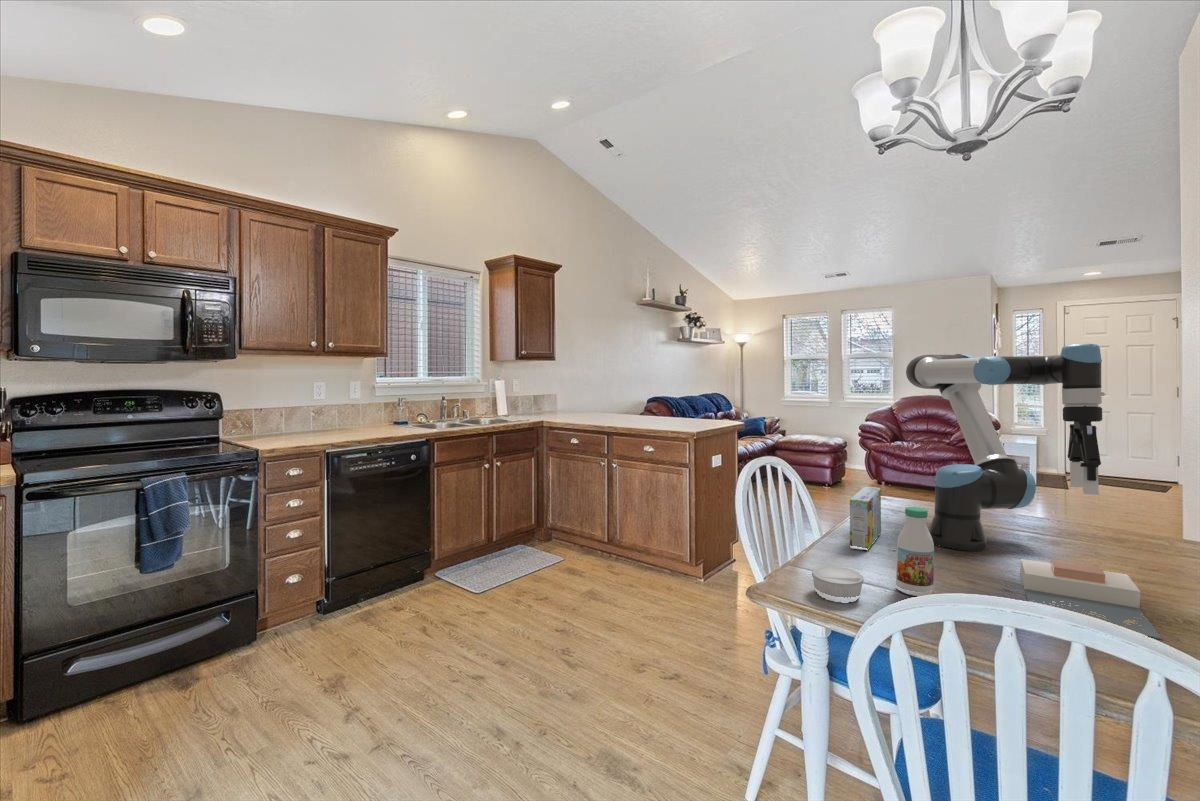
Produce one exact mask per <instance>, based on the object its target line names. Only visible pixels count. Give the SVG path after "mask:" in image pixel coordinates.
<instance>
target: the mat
mask: <svg viewBox="0 0 1200 801" xmlns="http://www.w3.org/2000/svg"><path fill="white" fill-rule="evenodd" d="M1025 592H1026V593H1025ZM1024 593H1025V597H1026V596H1027V597H1026V600H1027V602H1028V601H1033V600H1034V601H1033V602H1037V603H1042V604H1047V605H1052V604H1055V605H1052V606H1055V607H1059V608H1063V609H1067V610H1070V611H1074V612H1078V613H1082V614H1086V615H1089V616H1093V617H1096V618H1100V619H1102V620H1105V621H1107V622H1111V623H1113V624H1117V625H1119V626H1123V627H1126V628H1128V629H1131V630H1134V631H1136V632H1140V633H1142V634H1145V635H1147V636H1151V637H1153V638H1152V639H1155V640H1156V639H1157V640H1162V637H1161V635H1160V634H1159V633H1158V631H1157V630H1156V629H1155V627H1154V626H1153V624H1152V623H1151V621H1150V620H1149V619H1148V618H1147V617H1146V618H1147V620H1146V618H1144V617H1145V616H1146V615H1145V613H1144V612H1143V610H1142V609H1141V608H1136V607H1130V606H1124V605H1118V604H1112V603H1106V602H1100V601H1094V600H1088V599H1083V598H1077V597H1071V596H1065V595H1059V594H1053V593H1047V592H1041V591H1035V590H1029V589H1024ZM1043 601H1044V602H1045V603H1043ZM1052 601H1055V602H1056V603H1052ZM1060 601H1064V602H1060ZM1049 603H1051V604H1049ZM1069 603H1071V607H1070V606H1068V605H1070V604H1069ZM1061 604H1063V605H1061ZM1064 604H1065V605H1064ZM1057 605H1059V606H1057ZM1075 605H1079V606H1075ZM1062 606H1063V607H1062ZM1074 609H1075V610H1074ZM1083 609H1084V610H1083ZM1082 611H1083V612H1082ZM1090 611H1092V612H1096V613H1097V614H1095V613H1092V614H1095V615H1091V614H1088V613H1091V612H1090ZM1085 612H1086V613H1085ZM1098 614H1101V615H1098ZM1141 614H1142V615H1141ZM1143 614H1144V615H1145V616H1144V615H1143ZM1096 615H1098V616H1101V617H1097V616H1096ZM1102 615H1104V616H1106V617H1104V616H1102ZM1143 616H1144V617H1143ZM1102 617H1104V618H1106V619H1107V620H1106V619H1104V618H1102ZM1134 617H1135V618H1134ZM1137 618H1138V619H1137ZM1140 618H1141V619H1140ZM1128 619H1129V620H1135V621H1136V622H1134V623H1135V624H1133V623H1129V624H1131V625H1127V624H1126V623H1123V621H1125V620H1128ZM1137 621H1138V622H1137ZM1136 623H1137V624H1136ZM1125 625H1126V626H1125ZM1138 625H1142V626H1138ZM1143 629H1144V630H1143ZM1145 630H1146V631H1145Z"/></svg>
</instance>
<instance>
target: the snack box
mask: <svg viewBox="0 0 1200 801" xmlns="http://www.w3.org/2000/svg"><path fill="white" fill-rule="evenodd" d="M881 496H882V488H881V487H877V486H875V487H874V486H867V485H866V486H863V487H862V488H860V490H858V491H857V493H855V494H854V495H853V496H852V497H851V498H850V499H849V546H850V545H851V546H857V547H862V548H867V549H868V548H869V547H870V546H871V545H872V543H873V542H874V541H875V539H876V538H877V537H878V536H879V534H880V533H881V534H882V507H881V506H882V505H881V504H882V503H881V502H882V498H881ZM881 534H880V535H881ZM879 537H880V536H879ZM879 537H878V538H879ZM878 538H877V539H878ZM875 542H876V541H875ZM875 542H874V543H875ZM872 546H873V545H872Z"/></svg>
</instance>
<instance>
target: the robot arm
mask: <svg viewBox="0 0 1200 801" xmlns="http://www.w3.org/2000/svg"><path fill="white" fill-rule="evenodd" d="M1060 351H1061V352H1060V354H1056V355H1045V356H1044V355H1034V356H1033V355H1030V356H1028V355H1027V356H1025V355H1023V356H1020V355H1019V356H1008V355H1007V356H1005V355H1003V356H1001V355H1000V356H999V355H998V356H997V355H991V356H990V355H989V356H984V357H975V356H973V355H970V354H963V353H955V354H923V355H920V356H919V355H918V356H917V357H915V358H913V359H912V360H910V362H909V363H908V364H907V365H906V369H905V375H906V378H907V380H908V381H909V383H910V384H912V385H913V386H915V387H917V388H920V389H928V390H929V389H930V390H932V389H933V390H939V392H940V395H941V397H942V399H944V400H947V401H949V402H950V403H949V404H950V406H951V408H952V412H953V413H954V415H955V418H956V420H957V424H958V426H959V427H960V431H961V433H962V436H963V438H964V440H965V443H966V445H967V447H968V448H967V449H968V450H969V453H970V455H971V457H972V460H973V463H974V464H967V463H966V464H965V463H964V464H960V463H957V464H956V463H955V464H947V465H944V466H941V467H939V468H938V469H937V470H936V472H935V478H934V479H935V480H934V485H935V486H934V515H933V518H932V519H931V522H930V525H929V527H928V530H929V532H930V535H931V537H932V539H933V543H934V545H935V544H937V545H936V546H938V545H940V546H939V547H941V546H944V547H943V548H945V547H948V548H947V549H950V548H952V549H951V550H956V549H957V551H958V550H959V551H967V552H968V551H970V552H973V551H975V552H976V551H978V552H979V551H983V550H985V549H987V546H988V540H987V537H986V533H985V530H984V527H983V525H982V521H981V511H982V509H983V510H987V509H988V510H989V509H991V510H992V509H993V510H994V509H997V510H998V509H1000V510H1002V509H1005V510H1014V509H1022V508H1025V507H1027V506H1029V505H1030V504H1031V503H1032V502H1033V500H1034V498H1035V494H1036V492H1037V486H1036V485H1037V484H1036V480H1035V478H1034V476H1033V474H1032V472H1030V471H1028V470H1027V469H1025V468H1019V466H1018V464H1017V461H1016V459H1015V458H1013V457H1010V456H1007V454H1006V452H1005V449H1004V446H1003V444H1002V442H1001V440H1000V438H999V436H998V433H997V431H996V429H995V426H994V424H993V422H992V420H991V417H990V415H989V413H988V410H987V408H986V406H985V404H984V402H983V399H982V397H981V395H980V392H979V391H980V389H981V388H982V385H988V386H995V385H996V386H997V385H1036V386H1039V385H1041V386H1044V385H1051V384H1052V385H1053V384H1062V386H1061V401H1062V402H1061V403H1062V405H1064V407H1063V408H1062V420H1063V421H1064V422H1073V423H1070V425H1069V437H1068V438H1069V440H1068V450H1067V458H1068V460H1069V483H1070V484H1069V485H1070V487H1071V488H1082V493H1083V495H1095V496H1096V495H1098V496H1099V494H1100V493H1099V492H1100V491H1099V490H1100V488H1099V467H1100V466H1101V465H1102V461H1101V456H1100V450H1099V444H1098V443H1099V442H1098V437H1097V426H1096V425H1092V423H1093V422H1096V423H1097V422H1102V421H1103V407H1102V406H1099V405H1102V403H1103V402H1102V400H1103V398H1102V397H1104V396H1105V392H1104V391H1102V362H1103V359H1102V353H1101V348H1100V346H1099V344H1097V343H1096V344H1095V343H1076V344H1068V345H1064V346H1062V348H1061V350H1060Z"/></svg>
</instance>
